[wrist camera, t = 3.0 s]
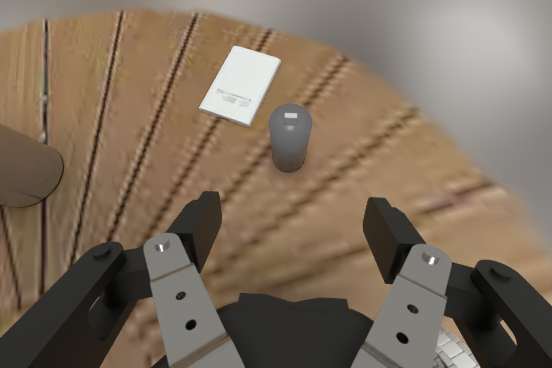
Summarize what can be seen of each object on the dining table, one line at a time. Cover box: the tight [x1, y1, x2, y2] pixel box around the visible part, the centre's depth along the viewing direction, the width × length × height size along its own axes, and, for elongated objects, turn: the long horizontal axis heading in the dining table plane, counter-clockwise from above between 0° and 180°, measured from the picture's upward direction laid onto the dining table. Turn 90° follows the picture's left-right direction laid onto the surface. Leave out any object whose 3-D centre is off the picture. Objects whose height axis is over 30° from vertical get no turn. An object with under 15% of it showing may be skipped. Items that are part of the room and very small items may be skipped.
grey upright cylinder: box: [269, 104, 312, 172], centre depth 28 cm, size 4×4×10 cm
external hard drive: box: [199, 46, 281, 128], centre depth 36 cm, size 2×8×12 cm
